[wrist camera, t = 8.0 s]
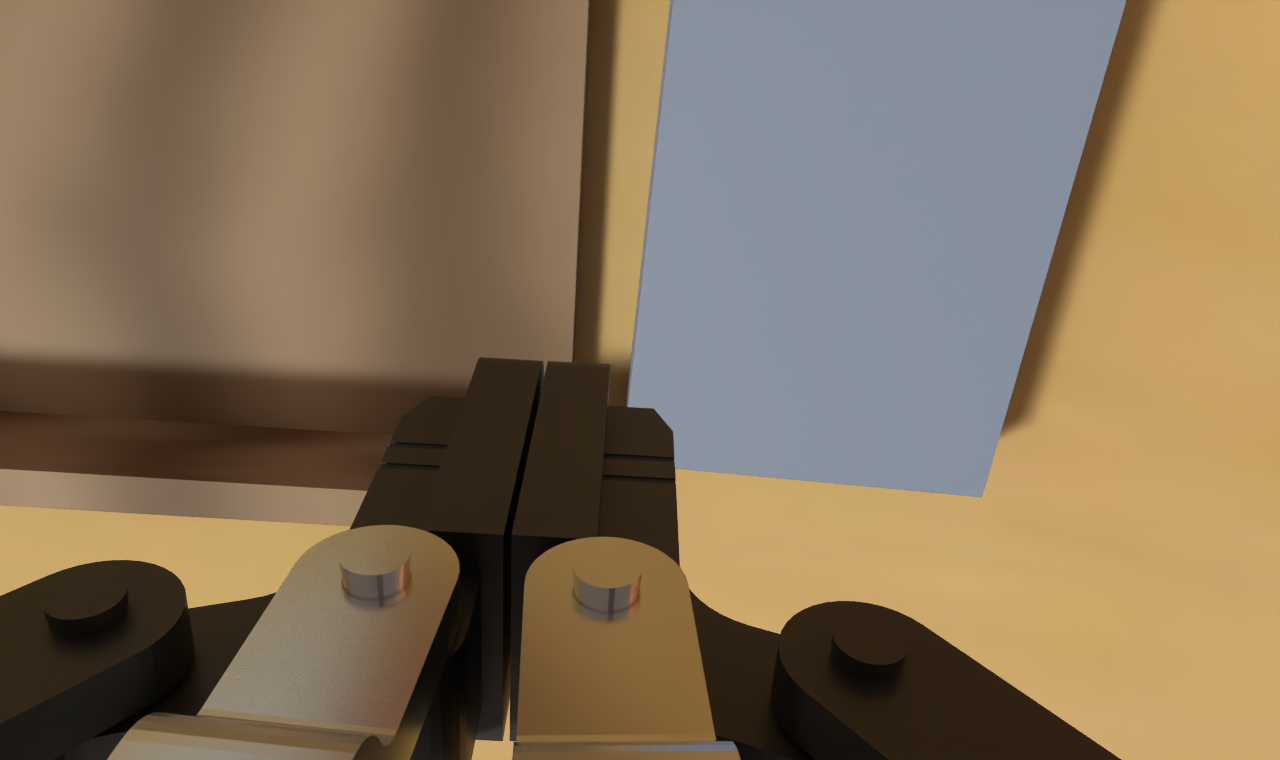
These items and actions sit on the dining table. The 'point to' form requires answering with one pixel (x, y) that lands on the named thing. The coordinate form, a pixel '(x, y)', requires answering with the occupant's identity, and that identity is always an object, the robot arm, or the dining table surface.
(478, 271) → the walnut tray
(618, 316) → the dining table surface
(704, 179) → the cover plate
